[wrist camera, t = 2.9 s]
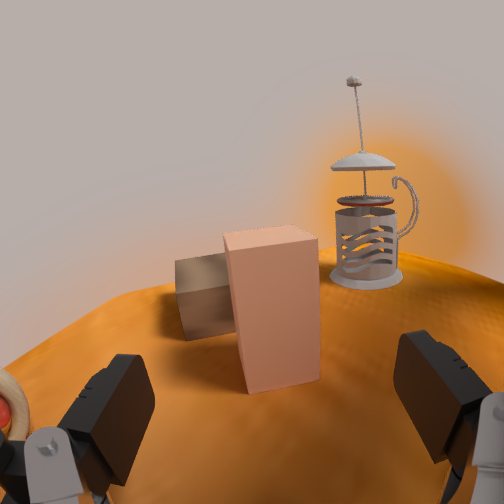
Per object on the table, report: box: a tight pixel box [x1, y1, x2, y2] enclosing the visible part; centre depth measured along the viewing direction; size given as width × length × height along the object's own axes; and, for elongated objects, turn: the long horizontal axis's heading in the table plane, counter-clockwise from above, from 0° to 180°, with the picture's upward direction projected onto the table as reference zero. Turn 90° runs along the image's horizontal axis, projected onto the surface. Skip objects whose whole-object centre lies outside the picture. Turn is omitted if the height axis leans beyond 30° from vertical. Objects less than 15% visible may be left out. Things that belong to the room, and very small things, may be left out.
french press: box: [329, 76, 419, 290], centre depth 34 cm, size 10×12×25 cm
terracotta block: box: [223, 224, 320, 395], centre depth 21 cm, size 5×5×10 cm
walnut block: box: [175, 253, 236, 341], centre depth 32 cm, size 11×11×5 cm
